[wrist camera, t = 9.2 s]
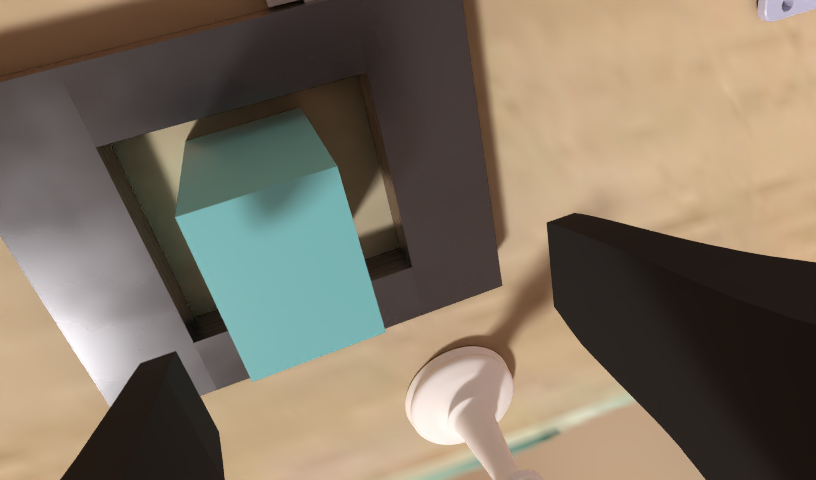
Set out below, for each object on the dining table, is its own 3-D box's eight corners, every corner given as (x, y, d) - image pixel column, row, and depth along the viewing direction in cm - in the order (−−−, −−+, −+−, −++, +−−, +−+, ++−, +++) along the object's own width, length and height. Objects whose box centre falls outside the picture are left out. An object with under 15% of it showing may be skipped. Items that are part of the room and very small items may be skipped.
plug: (300, 107, 18) (337, 166, 12) (340, 237, 20) (386, 332, 15) (185, 140, 17) (175, 217, 12) (240, 271, 19) (252, 381, 14)
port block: (439, -33, 17) (457, -33, 16) (485, 267, 22) (502, 285, 21) (-60, 91, 15) (-85, 103, 13) (127, 394, 20) (121, 424, 19)
